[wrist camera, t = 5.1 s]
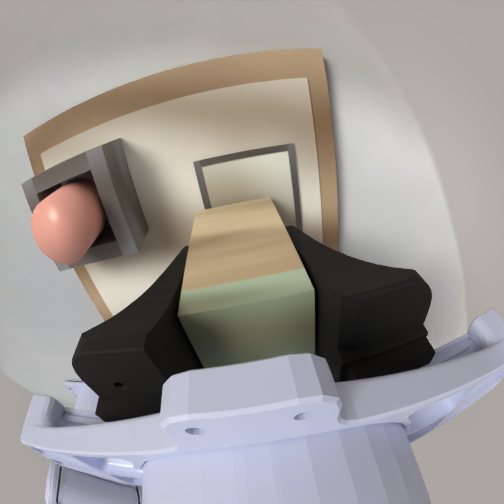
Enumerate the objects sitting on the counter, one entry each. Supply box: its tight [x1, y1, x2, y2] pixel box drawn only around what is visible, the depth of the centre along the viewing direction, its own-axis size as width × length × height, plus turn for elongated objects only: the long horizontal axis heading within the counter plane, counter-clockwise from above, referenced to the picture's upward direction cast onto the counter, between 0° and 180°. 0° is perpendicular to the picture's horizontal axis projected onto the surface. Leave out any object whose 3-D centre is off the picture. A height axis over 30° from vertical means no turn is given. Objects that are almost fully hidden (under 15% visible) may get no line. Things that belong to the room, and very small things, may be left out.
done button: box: [31, 178, 108, 264], centre depth 10 cm, size 3×3×3 cm
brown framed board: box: [22, 49, 338, 321], centre depth 14 cm, size 18×16×3 cm
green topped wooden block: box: [178, 197, 315, 368], centre depth 11 cm, size 4×4×7 cm
